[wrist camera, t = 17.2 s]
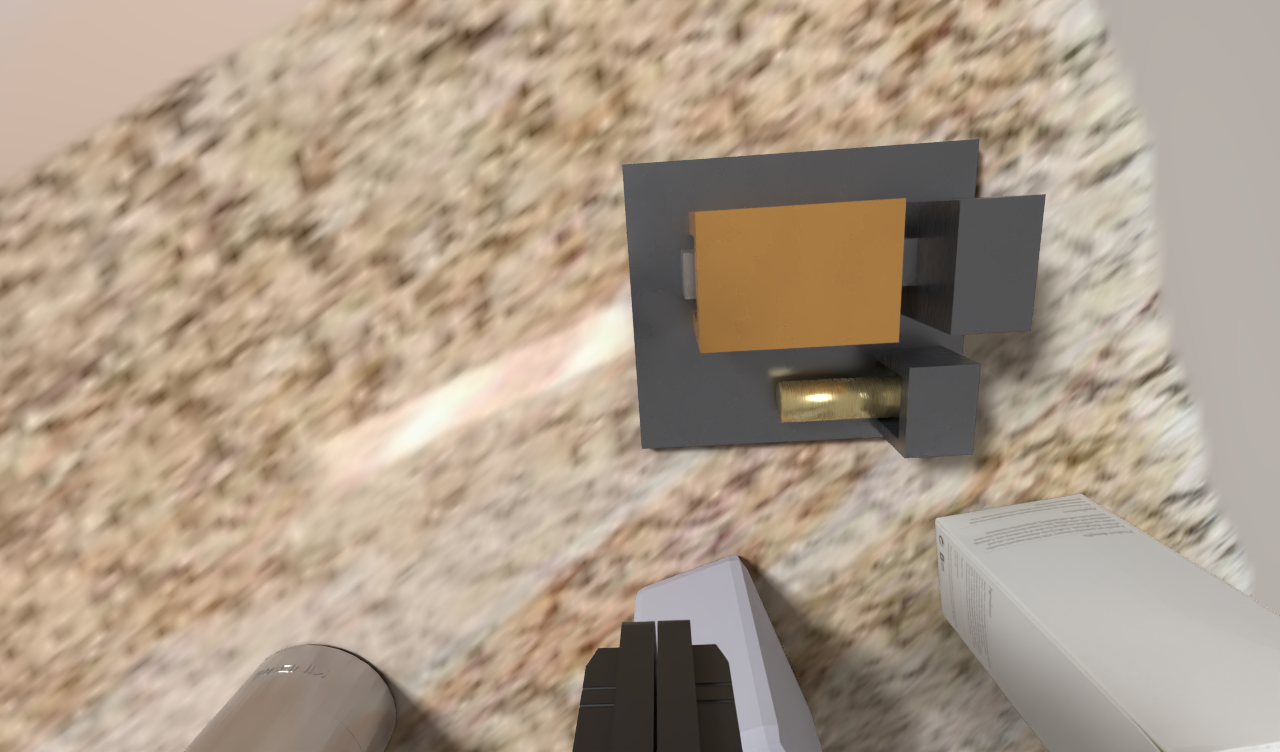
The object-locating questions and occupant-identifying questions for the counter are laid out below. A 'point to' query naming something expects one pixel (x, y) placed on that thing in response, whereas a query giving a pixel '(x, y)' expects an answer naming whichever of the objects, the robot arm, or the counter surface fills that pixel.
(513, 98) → the counter surface
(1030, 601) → the skincare box
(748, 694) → the soap bottle
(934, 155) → the stand
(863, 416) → the pin
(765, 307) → the block
